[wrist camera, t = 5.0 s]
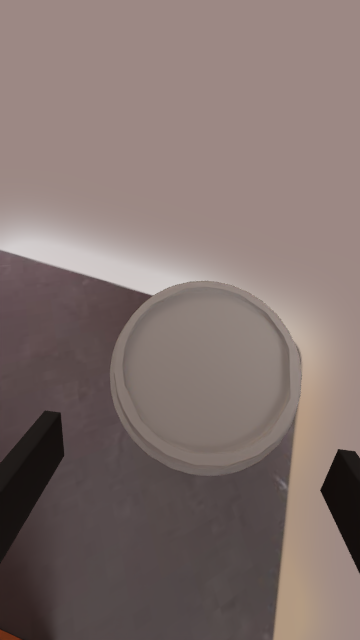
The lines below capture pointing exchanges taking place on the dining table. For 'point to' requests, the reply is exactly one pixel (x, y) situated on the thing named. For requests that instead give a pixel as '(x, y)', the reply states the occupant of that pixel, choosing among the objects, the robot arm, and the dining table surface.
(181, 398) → the disposable coffee cup
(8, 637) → the open box
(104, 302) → the dining table surface
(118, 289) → the dining table surface
